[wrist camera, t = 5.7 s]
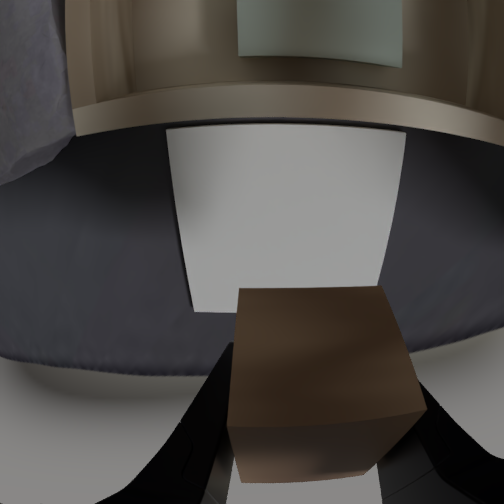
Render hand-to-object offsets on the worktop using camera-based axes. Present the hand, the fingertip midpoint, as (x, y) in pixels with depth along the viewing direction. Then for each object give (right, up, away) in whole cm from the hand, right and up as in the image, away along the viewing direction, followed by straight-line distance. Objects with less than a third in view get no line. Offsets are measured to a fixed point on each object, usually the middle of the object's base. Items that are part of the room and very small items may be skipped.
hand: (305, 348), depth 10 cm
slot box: (+1, +14, 0) cm, 14 cm away
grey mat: (0, +4, +6) cm, 8 cm away
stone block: (-14, +13, +1) cm, 19 cm away
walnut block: (0, 0, 0) cm, 0 cm away
